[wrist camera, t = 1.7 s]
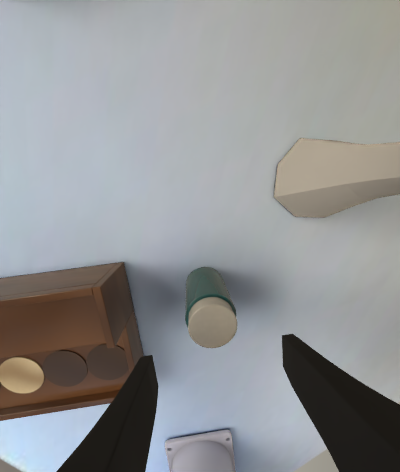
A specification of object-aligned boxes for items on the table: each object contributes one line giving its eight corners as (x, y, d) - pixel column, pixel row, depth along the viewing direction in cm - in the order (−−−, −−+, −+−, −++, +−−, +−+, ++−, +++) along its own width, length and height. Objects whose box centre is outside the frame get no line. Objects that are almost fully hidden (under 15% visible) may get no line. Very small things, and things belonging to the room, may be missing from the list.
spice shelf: (147, 373, 21) (135, 429, 16) (-15, 398, 21) (-81, 464, 16) (123, 261, 19) (100, 286, 13) (-64, 286, 18) (-164, 322, 13)
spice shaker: (224, 298, 20) (242, 346, 14) (188, 304, 20) (188, 355, 14) (221, 264, 19) (238, 298, 13) (183, 269, 19) (181, 306, 13)
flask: (325, 229, 19) (468, 263, 9) (260, 202, 18) (344, 211, 8) (361, 156, 18) (569, 110, 8) (293, 124, 17) (437, 29, 7)
